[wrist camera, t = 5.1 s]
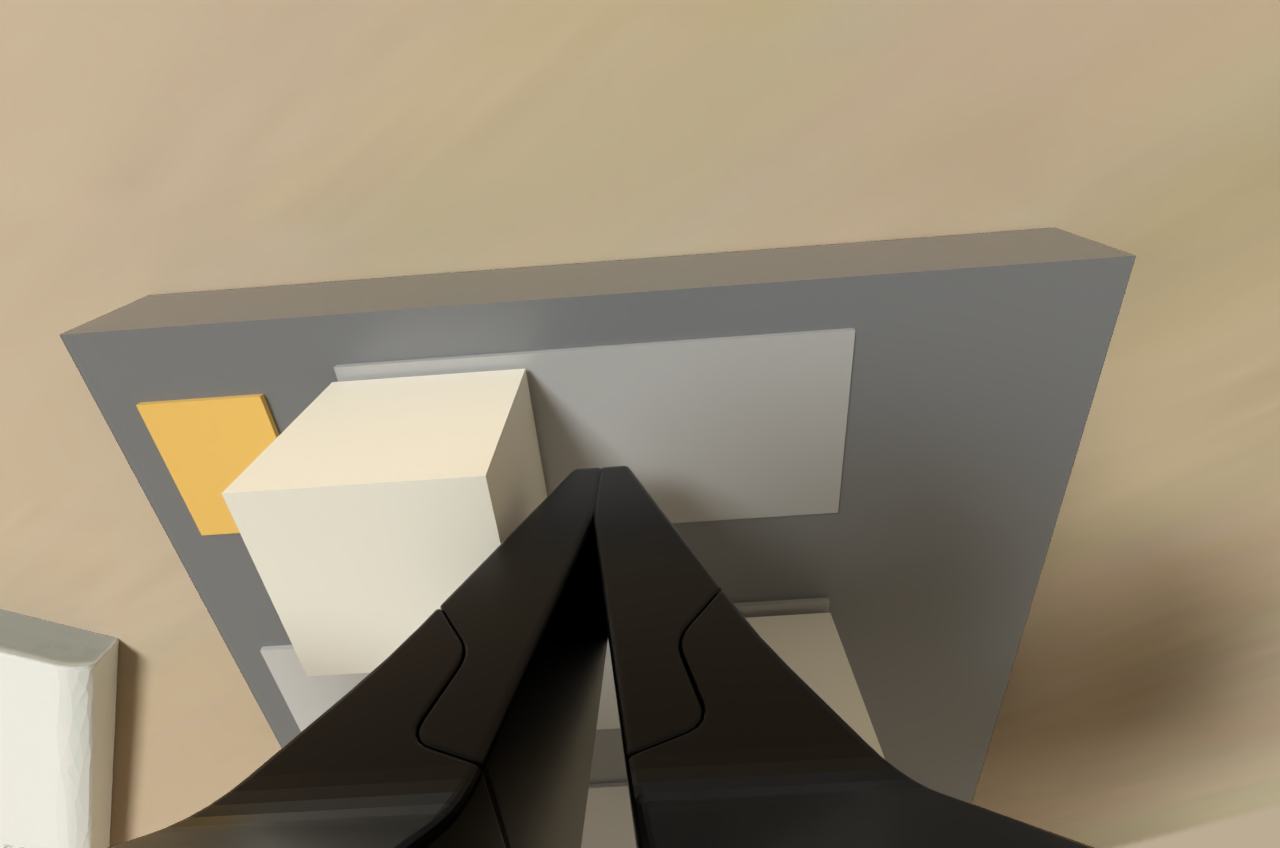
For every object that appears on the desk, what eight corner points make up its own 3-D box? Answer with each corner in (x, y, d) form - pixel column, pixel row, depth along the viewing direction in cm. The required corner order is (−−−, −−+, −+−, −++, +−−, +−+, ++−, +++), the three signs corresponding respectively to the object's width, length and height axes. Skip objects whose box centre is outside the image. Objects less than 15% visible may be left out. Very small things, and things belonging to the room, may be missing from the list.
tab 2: (830, 612, 12) (885, 758, 10) (820, 715, 14) (865, 867, 11) (674, 621, 12) (686, 770, 10) (680, 722, 14) (692, 876, 11)
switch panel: (1054, 228, 11) (1141, 257, 9) (923, 787, 19) (955, 865, 17) (148, 295, 11) (53, 337, 9) (384, 816, 19) (357, 895, 17)
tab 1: (525, 368, 10) (485, 475, 7) (552, 525, 11) (527, 663, 8) (332, 381, 10) (221, 493, 7) (383, 536, 11) (306, 677, 9)
